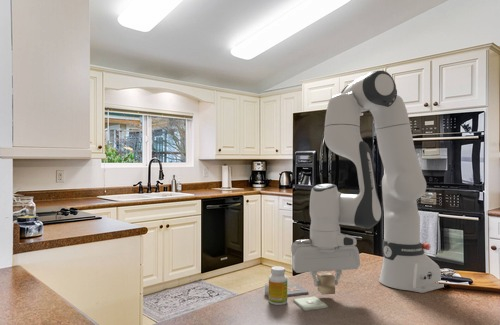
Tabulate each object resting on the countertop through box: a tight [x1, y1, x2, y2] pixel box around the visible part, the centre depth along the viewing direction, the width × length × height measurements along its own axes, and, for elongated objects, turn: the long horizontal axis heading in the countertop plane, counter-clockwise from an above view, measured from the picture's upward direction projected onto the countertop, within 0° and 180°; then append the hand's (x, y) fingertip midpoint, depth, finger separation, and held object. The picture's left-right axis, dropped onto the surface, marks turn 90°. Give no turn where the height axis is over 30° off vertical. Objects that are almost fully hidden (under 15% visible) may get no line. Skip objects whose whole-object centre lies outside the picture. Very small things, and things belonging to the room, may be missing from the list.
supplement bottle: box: [268, 265, 288, 306], centre depth 102 cm, size 5×5×10 cm
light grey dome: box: [264, 281, 269, 298], centre depth 108 cm, size 5×5×3 cm
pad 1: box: [287, 284, 309, 297], centre depth 111 cm, size 7×7×1 cm
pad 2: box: [293, 296, 328, 311], centre depth 101 cm, size 7×7×1 cm
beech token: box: [316, 272, 336, 296], centre depth 106 cm, size 4×4×5 cm
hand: (326, 285), depth 106 cm, fingers closed on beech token, 4 cm apart
